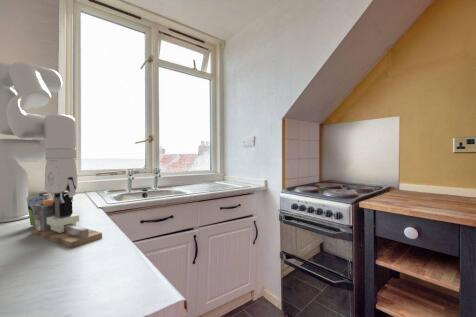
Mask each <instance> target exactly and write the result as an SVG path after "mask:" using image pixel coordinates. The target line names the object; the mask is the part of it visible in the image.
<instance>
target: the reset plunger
mask: <svg viewBox="0 0 476 317" xmlns="http://www.w3.org/2000/svg"><path fill="white" fill-rule="evenodd" d="M43 205H44V206H48V205H53V200H52V198H50V199H47V200H43Z"/></svg>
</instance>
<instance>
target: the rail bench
mask: <svg viewBox="0 0 476 317" xmlns="http://www.w3.org/2000/svg"><path fill="white" fill-rule="evenodd" d="M52 216H55V215H54V214H53V205H48V206H44V205H43V203H42V204H36V205H34V226H33V227H32V228H31V230H30V231H31V232H30V233H31V234H32V235H36V236H37V237H40V238H43V239H44V240H45V239H46V240H48V241H50V242H53V243H57V244H59V245H62V246H65V247H68V248H71V249H73V248H76V247H79V246H82V245H85V244H87V243H88V244H89V243H90V242H94V241H97V240H100V239H102V238H103V232H101V231H97V230H93V229H89V228H86V227H83V226H79V225H77V224H76V225H72V224H67V225H64V232H61V233H59V232H56V231H53V230H51V226H50V225H48V224H47V217H52Z"/></svg>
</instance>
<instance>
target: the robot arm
mask: <svg viewBox="0 0 476 317" xmlns="http://www.w3.org/2000/svg"><path fill="white" fill-rule="evenodd" d="M62 80H63V79H62V77H61V75H60V74H59V73H58V72H57V71H56V70H55V69H51V68H48V67H43V66H41V65H37V64H33V63H29V62H25V61H16V62H12V63H10V62H6V61H0V135H5V136H15V137H17V138H0V223H8V222H14V221H15V222H16V221H21V220H24V219H28V218H29V212H28V205H27V197H28V194H29V183H28V182H29V180H28V176H29V174H28V172H27V170H26V169H25V168H24V167H23V166H22V165H20V164H22V163H42V162H45V171H44V191H47V193H51V196H52V197H51V199H52V200H53V214H54V215H55V202H54V197H60V200H61V203H59V214H60V216H61V217H62V216H66V215H71V214H74V213H73V202H74V196H76V194H77V192H76V191H77V190H78V172H77V165H76V163H77V162H76V160H77V135H76V134H77V132H76V130H77V129H76V119H75V118H74V117H73V116H72V115H68V114H61V113H60V114H59V113H51V114H47V115H40V114H36V113H29V112H28V113H27V112H25V111H26V110H27V111H28V110H32V109H39V108H42V107H43V108H44V106H47V105H49V103H50V102H51V100H52V95H51V94H56V93H58V92H60V91H61V89H62V88H63V87H62V86H63V81H62ZM13 88H14V89H13ZM64 196H65V197H64ZM29 219H30V218H29Z"/></svg>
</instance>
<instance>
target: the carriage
mask: <svg viewBox="0 0 476 317" xmlns="http://www.w3.org/2000/svg"><path fill="white" fill-rule="evenodd" d="M64 197H65V196H64ZM54 202H55V216H52V217H47V224H48V225H50V226H51V230H53V231H56V232H59V233H61V232H64V225H67V224H72V225H76V226H77V223H78V222H80V215H79V214H78V213H77V214H76V213H72V214H71V215H66V216H62V217H61V216H60V214H59V203H61V200H60V197H54Z"/></svg>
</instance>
